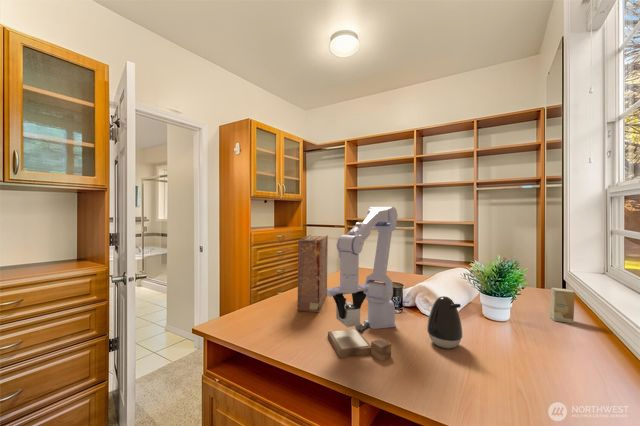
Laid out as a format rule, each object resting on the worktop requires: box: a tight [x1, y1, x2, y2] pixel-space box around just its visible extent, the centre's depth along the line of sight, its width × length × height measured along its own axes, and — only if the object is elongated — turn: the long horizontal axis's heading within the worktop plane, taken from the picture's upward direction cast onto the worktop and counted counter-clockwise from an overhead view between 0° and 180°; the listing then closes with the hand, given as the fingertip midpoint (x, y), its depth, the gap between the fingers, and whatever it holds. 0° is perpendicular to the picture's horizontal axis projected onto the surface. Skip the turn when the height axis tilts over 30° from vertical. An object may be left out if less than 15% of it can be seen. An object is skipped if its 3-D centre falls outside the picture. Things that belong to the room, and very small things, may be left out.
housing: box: [335, 301, 361, 328], centre depth 86 cm, size 4×8×6 cm, turn 22°
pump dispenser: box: [426, 295, 464, 349], centre depth 86 cm, size 10×10×15 cm
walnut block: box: [370, 338, 392, 362], centre depth 79 cm, size 4×4×4 cm
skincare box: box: [549, 287, 576, 324], centre depth 107 cm, size 6×4×12 cm
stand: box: [327, 328, 371, 359], centre depth 85 cm, size 10×13×2 cm
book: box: [297, 234, 329, 313], centre depth 125 cm, size 25×9×30 cm, turn 171°
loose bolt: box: [354, 322, 370, 333], centre depth 97 cm, size 6×3×3 cm, turn 140°
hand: (348, 316), depth 85 cm, fingers closed on housing, 4 cm apart
